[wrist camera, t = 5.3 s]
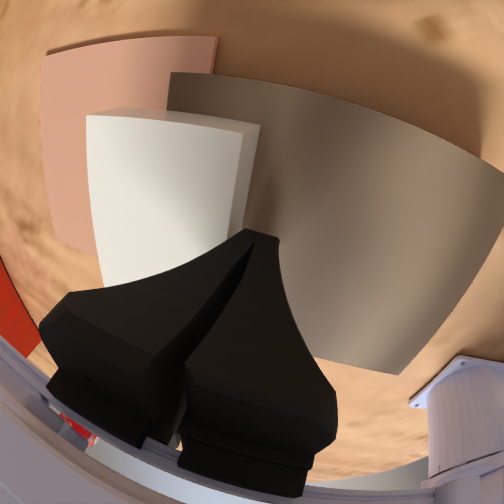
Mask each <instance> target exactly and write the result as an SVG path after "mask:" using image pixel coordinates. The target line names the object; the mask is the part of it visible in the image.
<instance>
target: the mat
mask: <svg viewBox="0 0 504 504" xmlns="http://www.w3.org/2000/svg"><path fill="white" fill-rule="evenodd" d="M218 40H219V37H216V36H163V37H147V38H136V39H127V40H119V41H112V42H106V43H100V44H94V45H89V46H84V47H79V48H75V49H71V50H67V51H63V52H59V53H55V54H51V55H48V56H44V57H42V67H41V82H40V133H41V149H42V160H43V170H44V178H45V186H46V192H47V199H48V204H49V210H50V215H51V220H52V225H53V230H54V234H55V239H56V240H57V241H59V242H61V243H64V244H66V245H68V246H70V247H73V248H75V249H77V250H80V251H82V252H84V253H87V254H89V255H91V256H94V257H96V258H98V253H97V247H96V241H95V235H94V228H93V221H92V213H91V205H90V195H89V184H88V170H87V150H86V115H89V114H93V113H96V112H101V111H105V110H109V109H113V108H118V107H129V108H145V109H157V110H166V109H167V99H168V90H169V82H170V74H171V72H188V73H205V74H213V68H214V62H215V57H216V51H217V45H218ZM98 259H99V258H98Z"/></svg>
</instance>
